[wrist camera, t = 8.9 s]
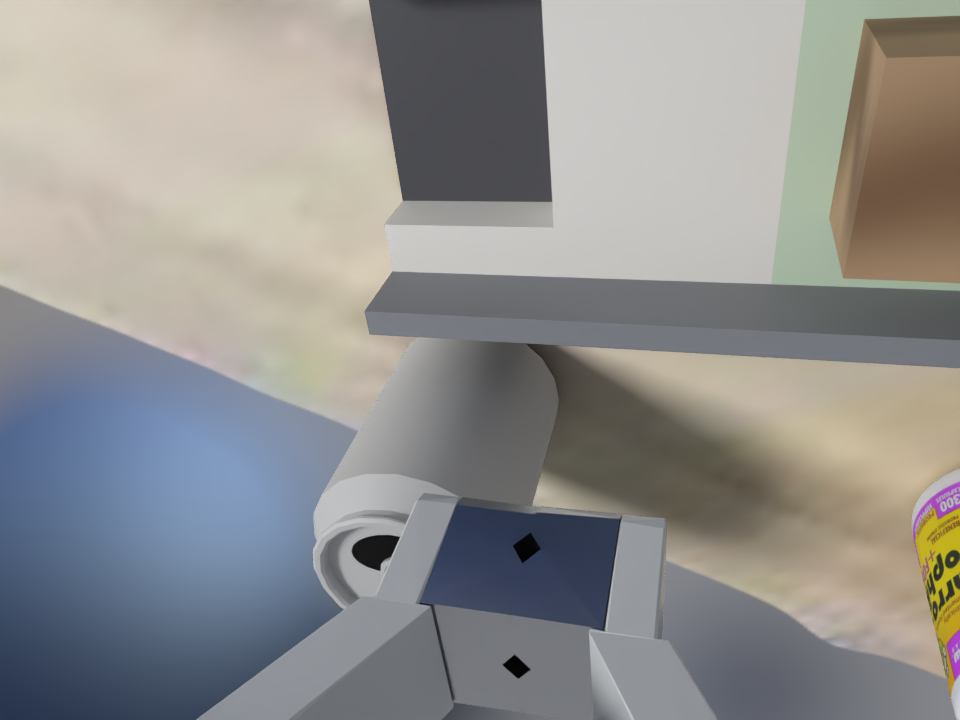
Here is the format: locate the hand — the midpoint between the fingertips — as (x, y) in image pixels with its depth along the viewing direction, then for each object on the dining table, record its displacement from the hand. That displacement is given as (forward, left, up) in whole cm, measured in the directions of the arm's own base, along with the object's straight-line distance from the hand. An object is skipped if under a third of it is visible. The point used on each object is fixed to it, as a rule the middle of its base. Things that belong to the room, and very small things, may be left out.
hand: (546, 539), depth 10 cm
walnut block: (+1, +9, -19) cm, 21 cm away
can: (+14, -8, -21) cm, 27 cm away
